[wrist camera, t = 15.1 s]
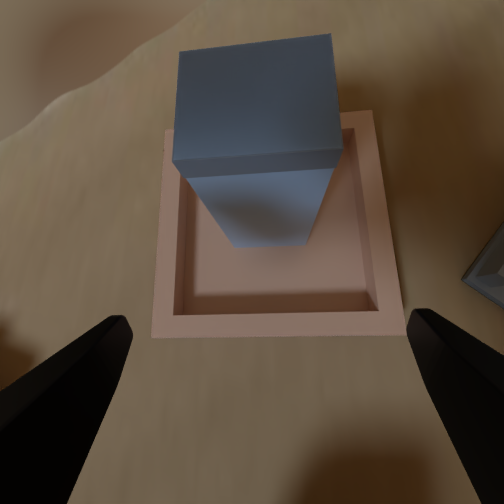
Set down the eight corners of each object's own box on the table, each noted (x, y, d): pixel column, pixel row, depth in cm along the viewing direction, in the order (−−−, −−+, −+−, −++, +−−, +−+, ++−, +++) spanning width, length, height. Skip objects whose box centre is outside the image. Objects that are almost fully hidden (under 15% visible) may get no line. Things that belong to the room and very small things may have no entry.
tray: (391, 332, 19) (407, 335, 17) (165, 335, 21) (151, 338, 19) (362, 130, 24) (371, 109, 21) (176, 146, 26) (165, 129, 23)
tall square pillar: (306, 245, 21) (343, 148, 9) (234, 248, 22) (171, 161, 9) (302, 189, 22) (331, 33, 10) (234, 193, 23) (179, 51, 10)
